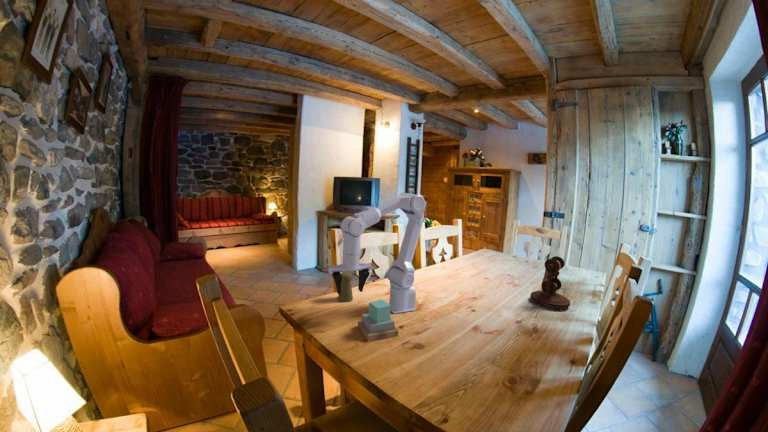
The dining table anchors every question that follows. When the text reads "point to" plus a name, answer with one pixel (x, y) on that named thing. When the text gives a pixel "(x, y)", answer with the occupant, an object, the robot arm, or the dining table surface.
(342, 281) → the olive upright rounded piece
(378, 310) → the teal cube
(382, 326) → the grey block
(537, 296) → the dark brown carved statue
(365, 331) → the walnut block
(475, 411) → the dining table surface
